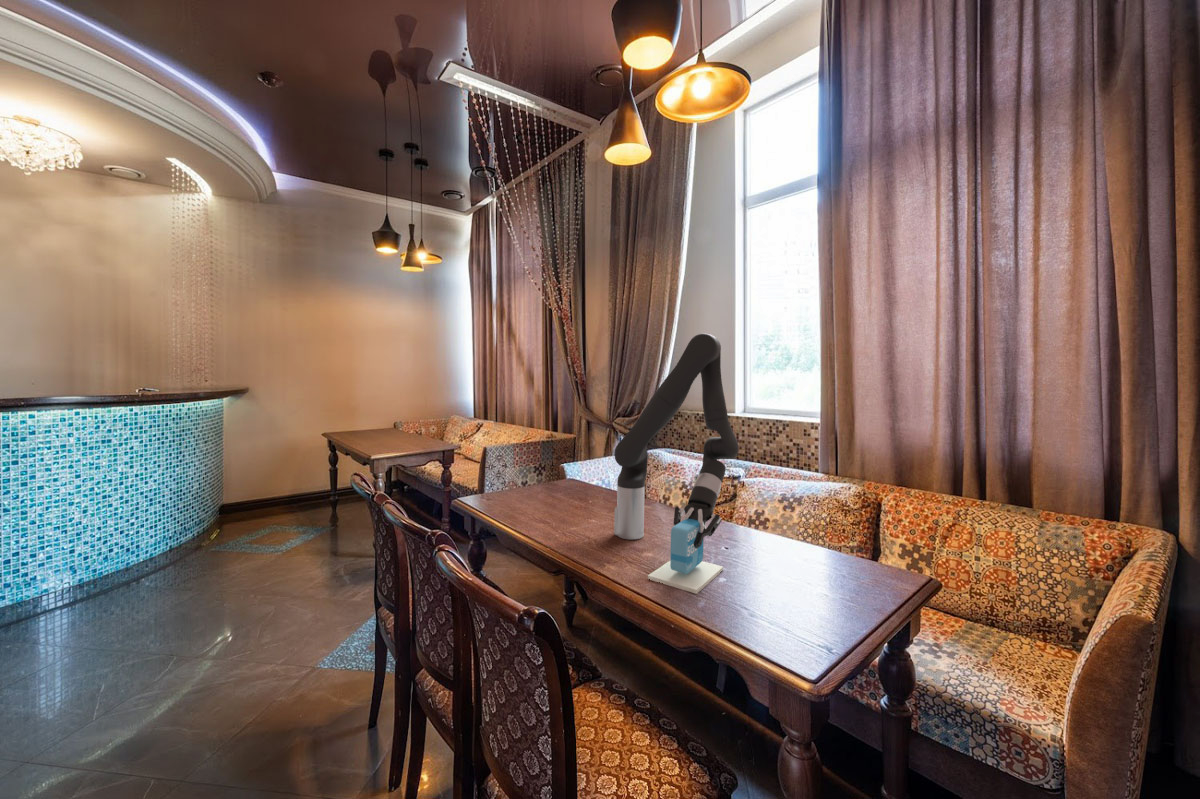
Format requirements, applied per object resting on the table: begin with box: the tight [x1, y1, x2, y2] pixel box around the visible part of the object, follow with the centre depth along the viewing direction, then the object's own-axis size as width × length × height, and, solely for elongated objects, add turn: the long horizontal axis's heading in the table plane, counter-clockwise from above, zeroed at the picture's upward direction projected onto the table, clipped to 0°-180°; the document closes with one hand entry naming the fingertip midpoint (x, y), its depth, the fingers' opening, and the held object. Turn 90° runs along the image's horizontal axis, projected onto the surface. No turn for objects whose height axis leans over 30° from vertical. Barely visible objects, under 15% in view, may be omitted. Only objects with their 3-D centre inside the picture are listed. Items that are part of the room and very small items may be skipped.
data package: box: [669, 519, 705, 574], centre depth 127 cm, size 12×4×12 cm, turn 145°
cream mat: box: [647, 560, 724, 595], centre depth 127 cm, size 14×18×1 cm
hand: (686, 544), depth 127 cm, fingers closed on data package, 4 cm apart
